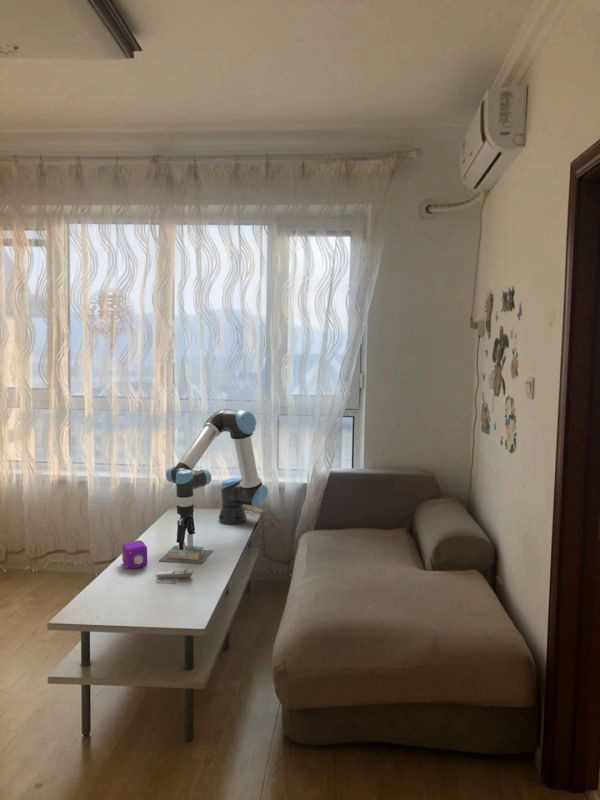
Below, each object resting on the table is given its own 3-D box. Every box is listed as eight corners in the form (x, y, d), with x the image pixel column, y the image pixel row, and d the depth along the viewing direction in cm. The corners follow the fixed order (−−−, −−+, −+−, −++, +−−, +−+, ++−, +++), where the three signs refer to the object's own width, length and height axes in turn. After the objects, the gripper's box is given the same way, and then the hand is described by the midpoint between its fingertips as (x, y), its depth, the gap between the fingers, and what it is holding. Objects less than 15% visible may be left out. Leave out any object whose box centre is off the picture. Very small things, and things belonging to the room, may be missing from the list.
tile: (174, 545, 272) (203, 546, 270) (175, 551, 272) (203, 553, 270) (168, 551, 264) (197, 553, 262) (168, 557, 265) (197, 559, 262)
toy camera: (131, 573, 248) (130, 551, 247) (118, 564, 259) (117, 542, 258) (154, 567, 255) (153, 545, 254) (141, 558, 266) (140, 537, 264)
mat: (172, 548, 277) (172, 547, 277) (212, 551, 274) (212, 550, 274) (158, 561, 261) (158, 560, 261) (201, 564, 258) (201, 563, 258)
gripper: (186, 497, 276) (187, 543, 279) (167, 511, 255) (169, 560, 257) (201, 498, 275) (202, 543, 277) (184, 512, 253) (185, 561, 256)
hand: (186, 551), depth 267 cm, fingers open, 9 cm apart
